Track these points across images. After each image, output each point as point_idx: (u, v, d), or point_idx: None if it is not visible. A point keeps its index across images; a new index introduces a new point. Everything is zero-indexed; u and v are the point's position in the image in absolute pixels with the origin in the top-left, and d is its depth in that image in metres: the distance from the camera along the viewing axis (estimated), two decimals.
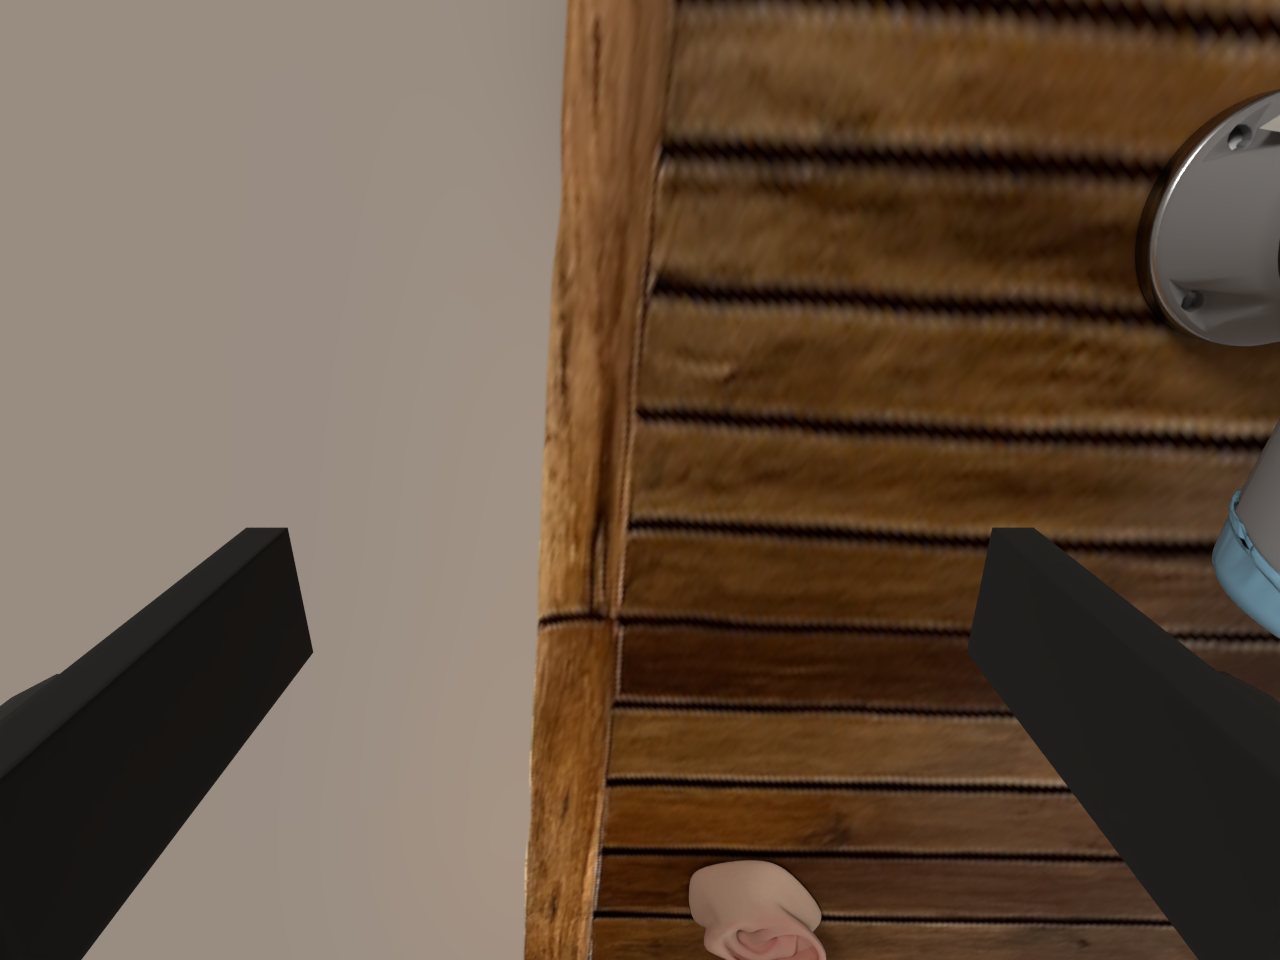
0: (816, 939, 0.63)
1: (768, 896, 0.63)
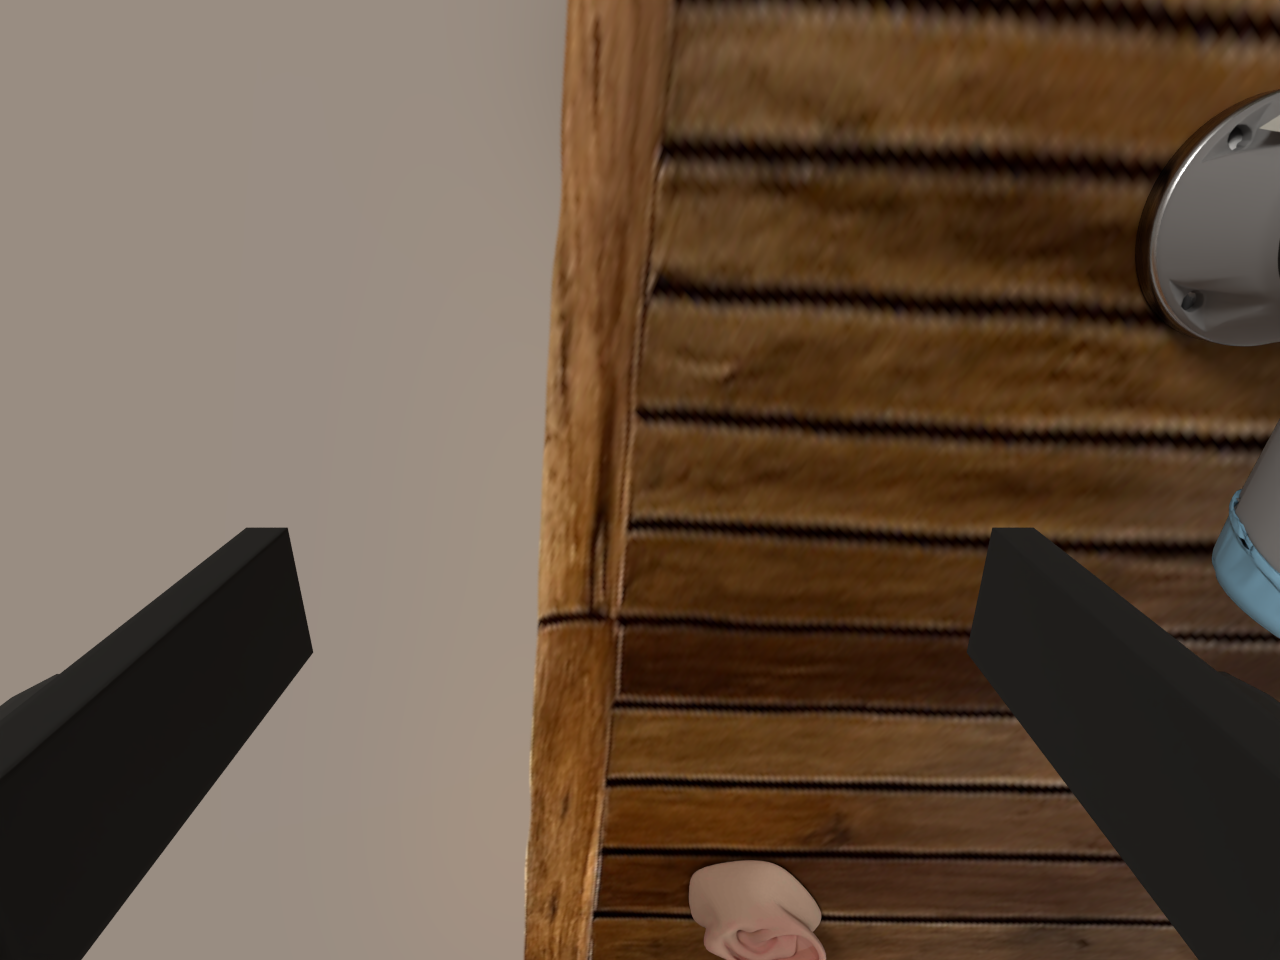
0: (816, 939, 0.63)
1: (768, 896, 0.63)
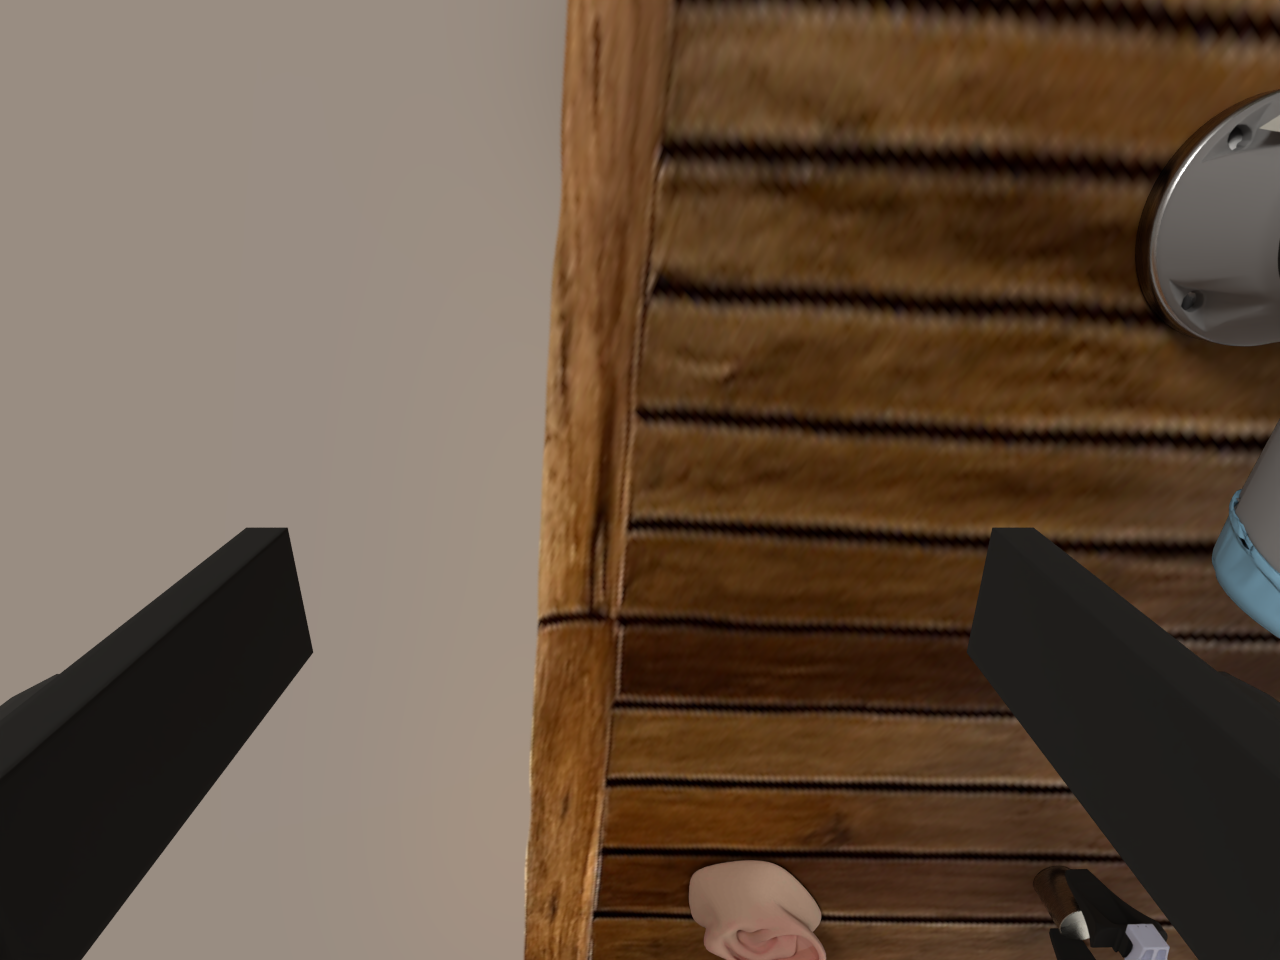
0: (816, 939, 0.63)
1: (768, 896, 0.63)
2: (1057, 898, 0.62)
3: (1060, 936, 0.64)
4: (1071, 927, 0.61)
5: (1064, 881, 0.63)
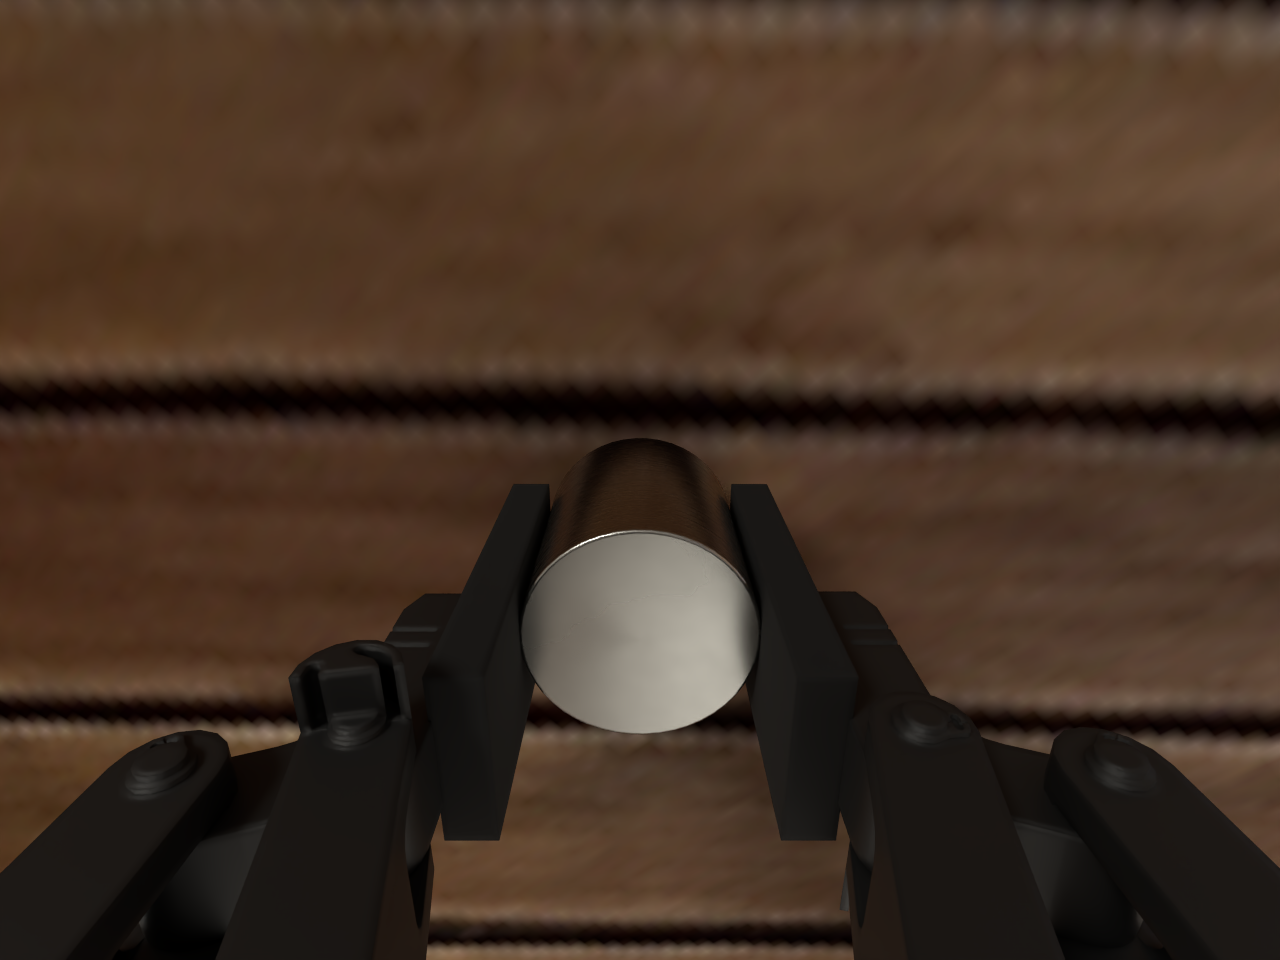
0: None
1: None
2: (556, 524, 0.12)
3: None
4: (585, 652, 0.11)
5: (620, 466, 0.13)
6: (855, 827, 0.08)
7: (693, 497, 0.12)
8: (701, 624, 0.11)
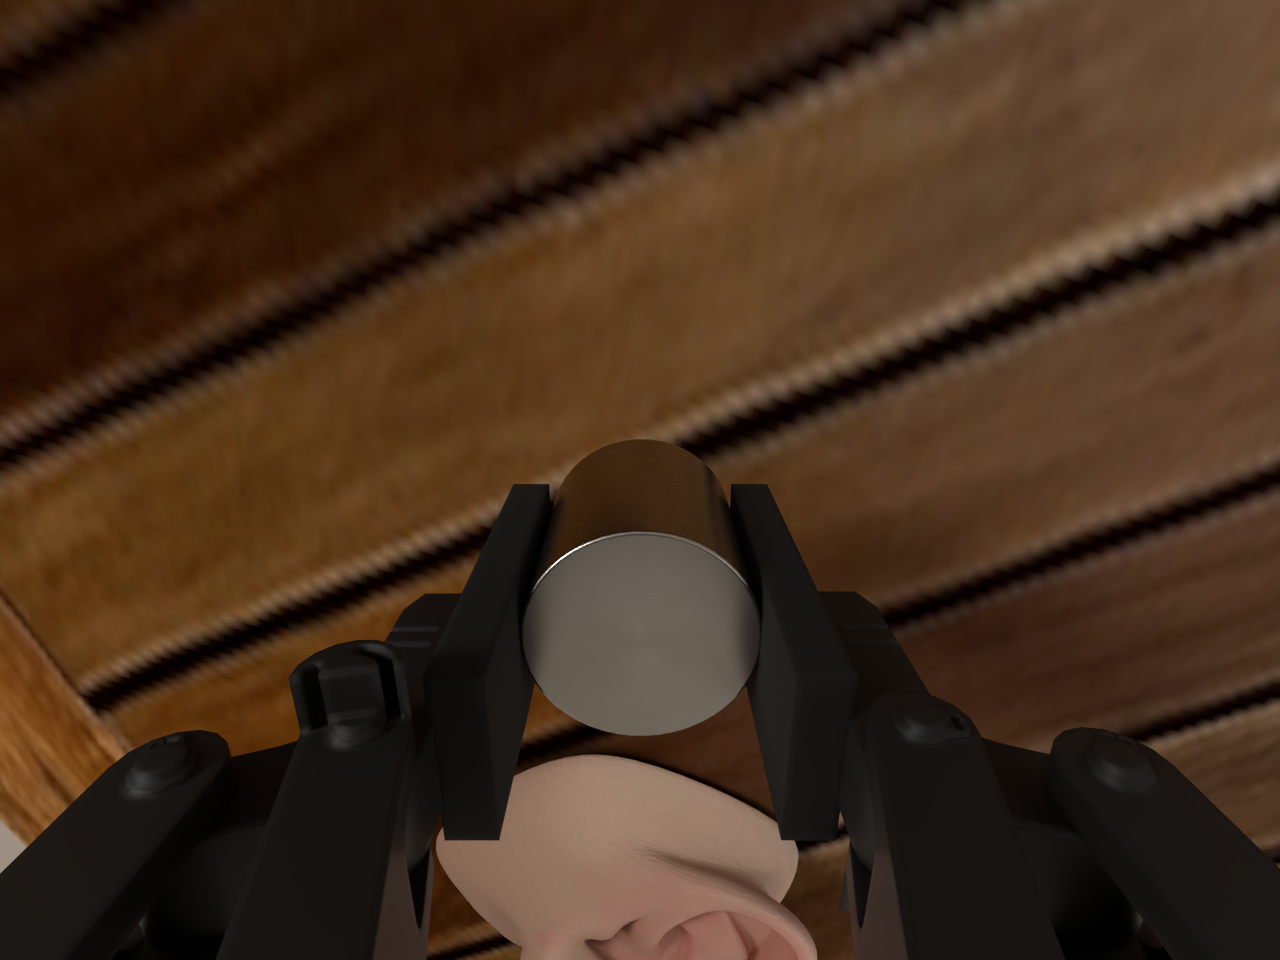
0: (765, 906, 0.23)
1: (608, 837, 0.24)
2: (556, 525, 0.12)
3: None
4: (586, 654, 0.11)
5: (621, 467, 0.13)
6: (855, 827, 0.08)
7: (694, 498, 0.12)
8: (702, 626, 0.11)
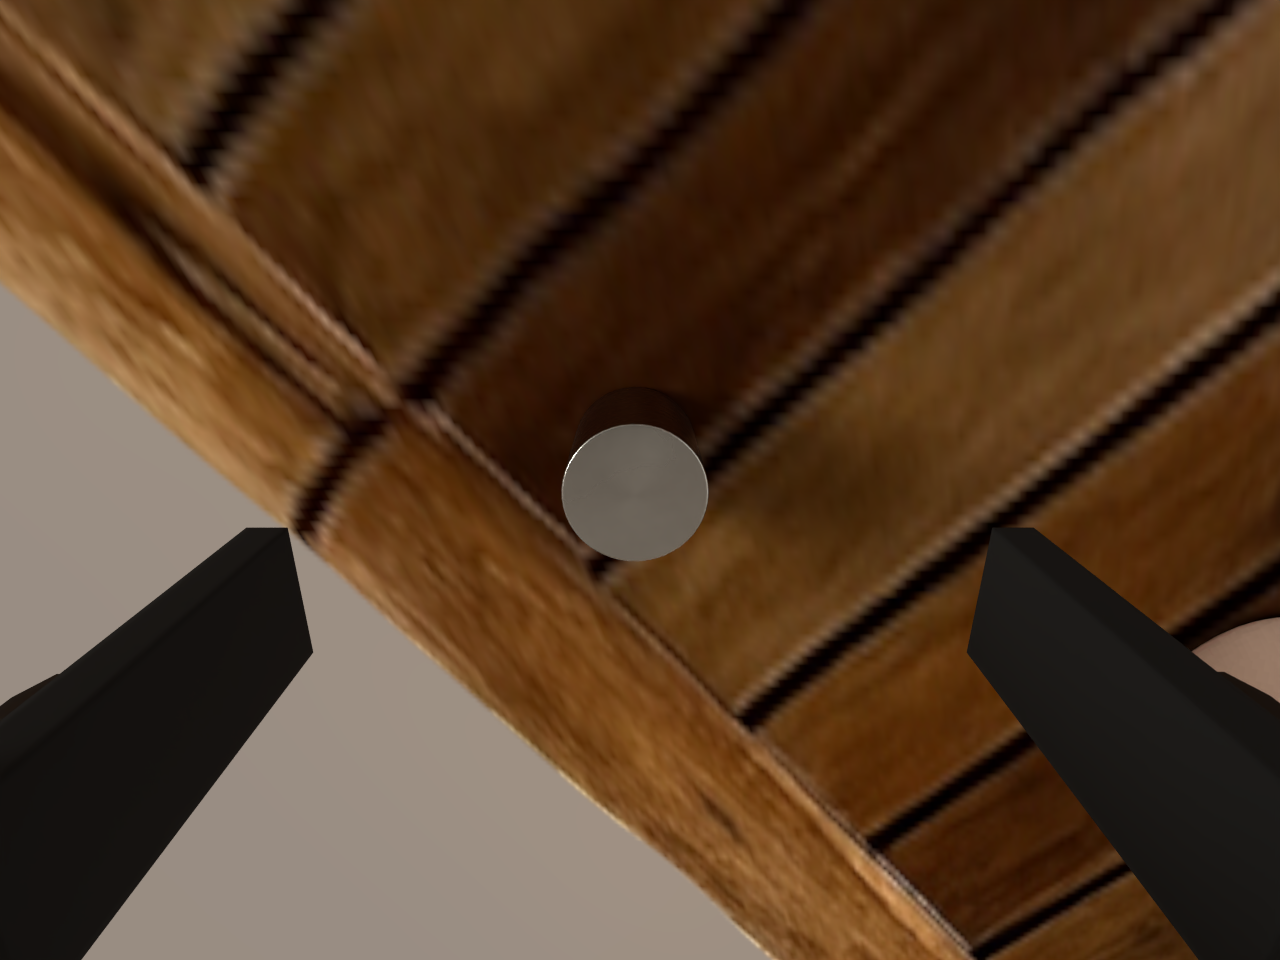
0: None
1: None
2: (581, 432, 0.19)
3: None
4: (601, 504, 0.18)
5: (622, 399, 0.20)
6: None
7: (668, 415, 0.19)
8: (671, 484, 0.18)
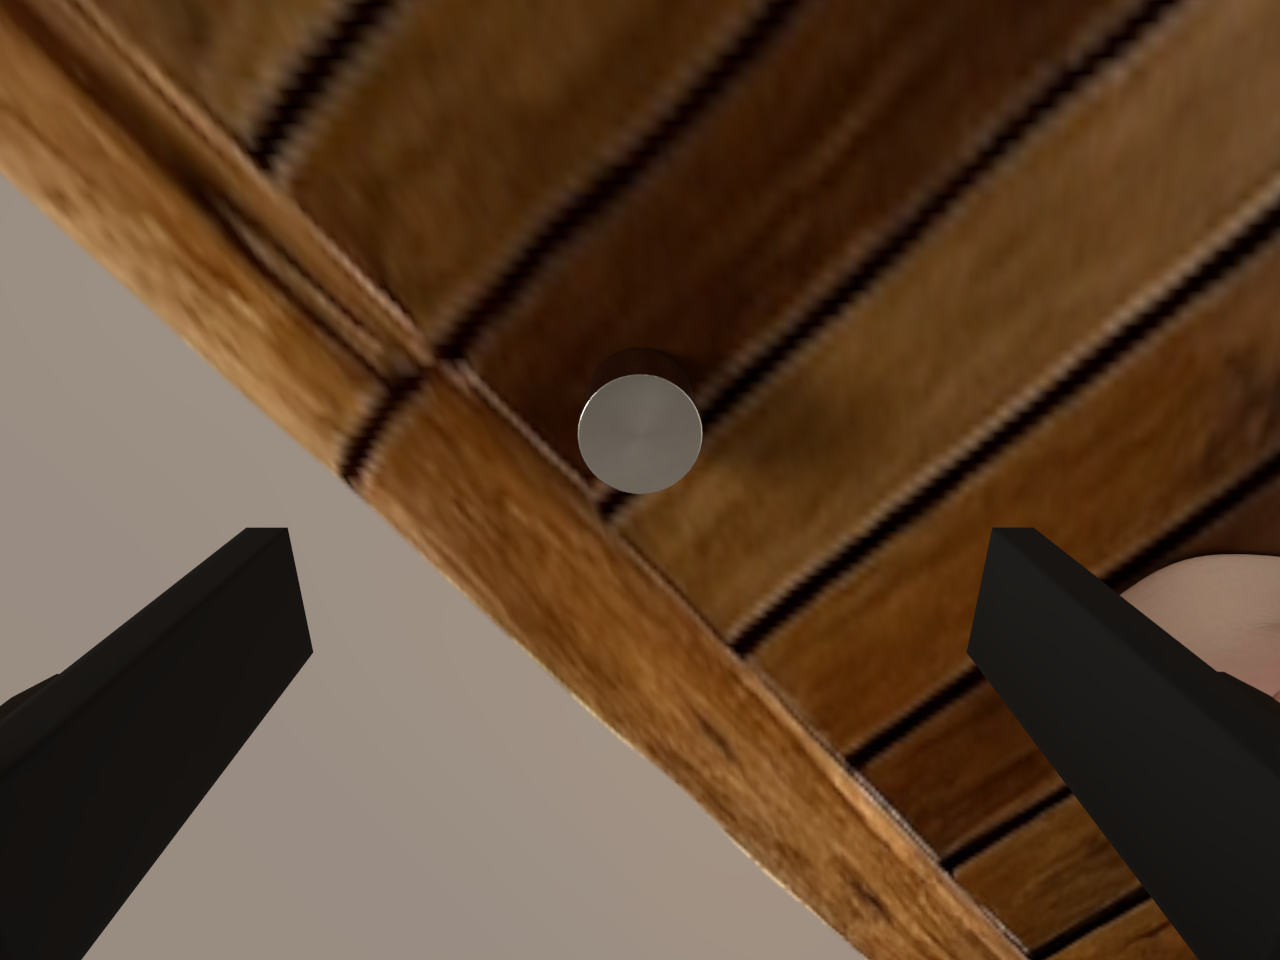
0: None
1: (1228, 624, 0.27)
2: (594, 384, 0.22)
3: None
4: (611, 444, 0.21)
5: (629, 357, 0.23)
6: None
7: (668, 369, 0.22)
8: (671, 427, 0.21)
